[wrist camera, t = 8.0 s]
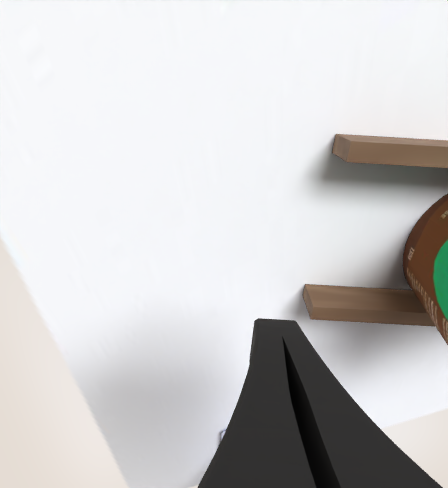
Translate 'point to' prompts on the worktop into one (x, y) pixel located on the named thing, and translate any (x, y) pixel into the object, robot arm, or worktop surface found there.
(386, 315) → the rail frame
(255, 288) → the worktop surface
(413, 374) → the worktop surface
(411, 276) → the food container
